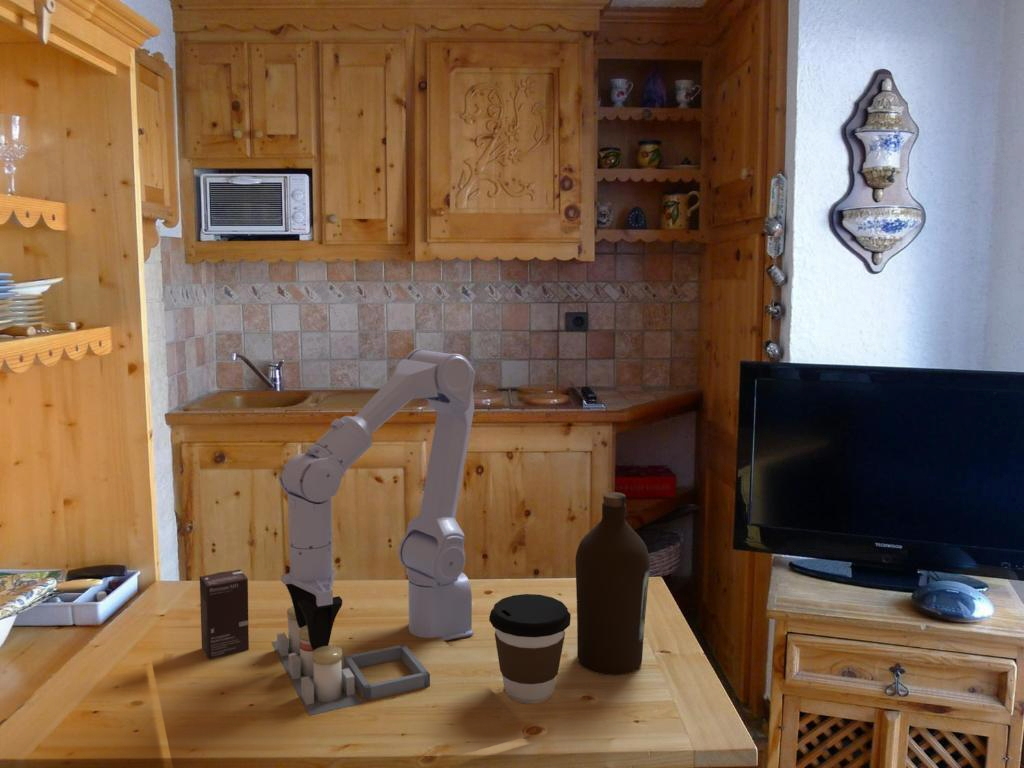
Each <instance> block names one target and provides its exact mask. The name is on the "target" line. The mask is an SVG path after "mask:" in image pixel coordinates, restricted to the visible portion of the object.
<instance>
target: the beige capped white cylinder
mask: <svg viewBox="0 0 1024 768" xmlns="http://www.w3.org/2000/svg"><path fill="white" fill-rule="evenodd" d="M286 617H287V633H288V636H287V638H288V639H289V651H290V652H291V653H296V654H300V638H299V630H300V628H299V626H298V623H297V620H296V616H295V611H294V607H293V605H292V606H291V607H288V608H287V609H286Z"/></svg>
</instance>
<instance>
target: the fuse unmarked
mask: <svg viewBox="0 0 1024 768" xmlns="http://www.w3.org/2000/svg"><path fill="white" fill-rule="evenodd" d="M312 658H313V667H314V698H315V699H316V700H318V701H321V702H330V701H334V700H337V699H339V698H340V697H341V696H342V659H343V649H342V648H340V647H339V646H335V645H334V646H333V645H328V646H322V647H319V648H317V649H315V650H314V651H313V653H312Z"/></svg>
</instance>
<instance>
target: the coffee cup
mask: <svg viewBox="0 0 1024 768" xmlns="http://www.w3.org/2000/svg"><path fill="white" fill-rule="evenodd" d="M571 614H572V613H570V612H569V608H568V607H567V605H565V604H564V603H563V602H562V601H561V600H559V599H556V598H555V597H552V596H549V595H548V596H547V595H543V594H531V593H524V594H515V595H509V596H507V597H504V598H502V599H500V600H499V601H497V602H496V603H494V605H493V607H492V609H491V611H490V614H489V619H488V620H489V622H490V624H491V626H492V627H493V628H494V629H495V630H494V638H495V645H496V652H497V657H498V658H497V659H498V665H499V671H500V672H501V675H502V681H503V682H502V683H503V688H504V690H505V692H506V694H507V695H508V698H510V699H512V700H513V701H515V702H518V703H520V704H530V705H531V704H539V703H542V702H544V701H547V700H548V699H549V698H550V697H551V696H552V694H553V692H554V689H555V683H556V678H557V676H558V674H559V669H560V664H561V663H560V662H561V657H562V652H563V646H564V642H565V641H564V640H565V635H566V631H565V630H566V629H568V627H570V626H571V620H572V619H571Z"/></svg>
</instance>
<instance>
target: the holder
mask: <svg viewBox="0 0 1024 768" xmlns="http://www.w3.org/2000/svg"><path fill="white" fill-rule="evenodd" d="M276 639H277V640H276V641H271V644H272V646H273V648H274V651H275V652H276V654H277V656H278V658H279V659H280V661H281V663H282V665H283V668H284V669H285V671H286V673H287V675H288V677H289V679H290V682H291V683H292V685H293V687H294V689H295V691H296V692H297V695H298V697H299V698H300V700H301V703H302V705H303V706H304V709H305V710H306V712H307V714H308V716H310V717H311V716H315V715H319V714H322V713H328V712H331V711H336V710H341V709H345V708H349V707H354V706H357V705H358V706H359V705H362V704H363V703H364V702H363V701H362V699H361V698H360V696H359V694H358V693H357V692H356V690H355V689H356V688H355V687H356V685H355V684H354V675H353V674H352V672H351V671H350V669H349V668H346V669H344V668H343V669H342V696H341V697H340V698H339V699H337V700H334V701H330V702H321V701H318V700H316V699H315V698H314V677H309V676H304V675H302V674H301V659H300V654H296V653H291V652H290V651H289V638H288V636H287V635H286V633H285V631H281V632H277V633H276ZM332 646H335V645H332Z"/></svg>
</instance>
